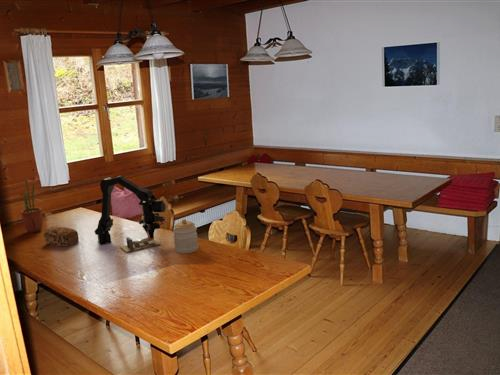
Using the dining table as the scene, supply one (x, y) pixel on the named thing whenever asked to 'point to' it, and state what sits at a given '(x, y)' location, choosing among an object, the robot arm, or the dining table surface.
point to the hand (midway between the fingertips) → (150, 237)
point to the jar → (185, 237)
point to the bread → (60, 236)
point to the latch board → (138, 245)
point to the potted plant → (31, 213)
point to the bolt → (143, 240)
